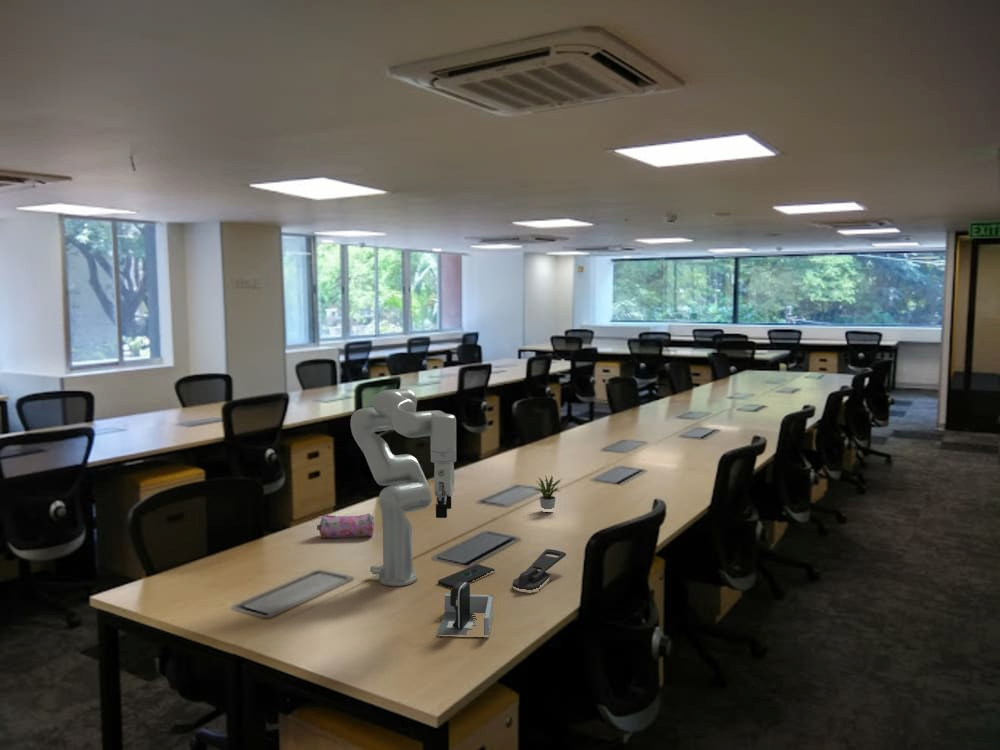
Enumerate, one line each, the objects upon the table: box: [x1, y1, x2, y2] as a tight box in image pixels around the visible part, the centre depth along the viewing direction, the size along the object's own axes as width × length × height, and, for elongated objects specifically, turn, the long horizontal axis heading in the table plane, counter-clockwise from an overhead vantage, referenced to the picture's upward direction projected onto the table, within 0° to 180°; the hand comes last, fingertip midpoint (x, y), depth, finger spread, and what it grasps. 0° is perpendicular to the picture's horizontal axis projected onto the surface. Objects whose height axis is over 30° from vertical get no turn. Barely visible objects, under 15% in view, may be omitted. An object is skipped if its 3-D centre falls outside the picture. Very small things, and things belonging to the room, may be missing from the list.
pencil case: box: [316, 513, 375, 539], centre depth 286 cm, size 21×9×9 cm, turn 95°
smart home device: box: [437, 563, 495, 589], centre depth 243 cm, size 8×2×20 cm
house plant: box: [534, 474, 563, 509], centre depth 321 cm, size 14×14×16 cm
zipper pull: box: [512, 548, 567, 590], centre depth 241 cm, size 9×7×25 cm
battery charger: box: [449, 582, 471, 629], centre depth 205 cm, size 7×4×11 cm, turn 162°
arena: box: [436, 593, 494, 636], centre depth 206 cm, size 14×16×6 cm
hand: (443, 513), depth 217 cm, fingers open, 9 cm apart
